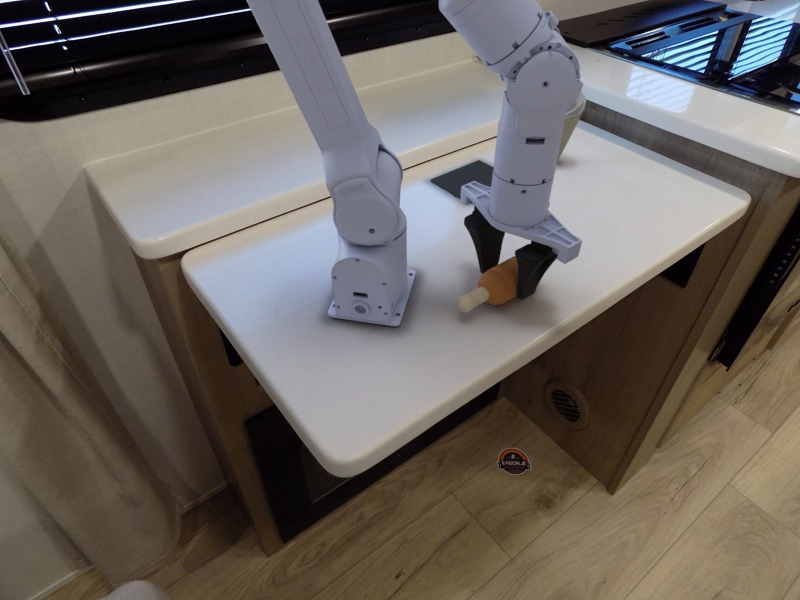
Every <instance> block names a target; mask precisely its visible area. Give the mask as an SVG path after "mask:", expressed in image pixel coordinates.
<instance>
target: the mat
mask: <svg viewBox="0 0 800 600" xmlns="http://www.w3.org/2000/svg"><path fill="white" fill-rule="evenodd" d="M493 167H494V166H493V165H491V164H488V163H486V162H484V161H482V160H480V159H478V160H475V161H473V162H470V163H467V164H465V165H463V166H461V167H458V168H455V169H453V170H450V171H448V172H445V173H443V174H441V175H438V176H434V177H433V178H431V179H430V182H431V183H432V184H434V185H436V186H437V187H439V188H440V189H442V190H443V191H444V190H445V191H446V192H447V193H449V194H451V195H453V196H454V197H456V198H458V199H459V200H460V198H461V186H463V185H466V184H468V183H471V182H473V181H476V182H478V183H480V184H482V185H485V186H488V187H491V184H492V175H493Z"/></svg>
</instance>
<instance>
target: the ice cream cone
mask: <svg viewBox="0 0 800 600" xmlns="http://www.w3.org/2000/svg"><path fill="white" fill-rule="evenodd" d="M580 82H582V81H581V80H580ZM586 104H587V99H586V96H585V94H584V93H583V91H581V92H580V94H579V96H578V98H577V99H576V101H575V102H574V103H573V105H572V106H571V107H570V108H569V109H567V110H566V113H565V118H564V123H563V134H562V139H561V144H560V149H559V154H558V159H557V163H558V162H559V160H560V158H561V156H562V155H563V152H564V150H565V149H566V146H567V145H568V143H569V141H570V139H571V136H572V135H573V133H574V131H575V129H576V127H577V125H578V123H579V121H580V119H581V117H583V115H584V112H585V107H586Z"/></svg>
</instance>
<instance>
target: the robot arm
mask: <svg viewBox="0 0 800 600" xmlns="http://www.w3.org/2000/svg"><path fill="white" fill-rule="evenodd" d="M246 3H247V4H248V7H249V9H250V11H251V13H252V16H253V17H254V19H255V21H256V24H257V25H258V27H259V29H260V31H261V33H262V35H263V37H264V39H265V41H266V43H267V46H268V47H269V49H270V51H271V54H272V55H273V58H274V60H275V61H276V64H277V67H278V68H279V70H280V72H281V75H282V76H283V78H284V80H285V82H286V84H287V86H288V89H289V90H290V92H291V94H292V96H293V98H294V100H295V102H296V104H297V106H298V109H299V110H300V112H301V115H302V117H303V119H304V120H305V122H306V124H307V127H308V129H309V131H310V133H311V134H312V137H313V139H314V141H315V142H316V145H317V147H318V149H319V151H320V154H321V159H322V165H323V166H322V167H323V174H324V181H325V186H326V190H327V192H328V193H329V195H330V198H331V201H332V206H333V207H332V219H333V223H334V226H335V228H336V233H337V244H338V249H337V254H336V257H335V260H334V263H333V265H332V267H331V272H330V280H331V286H332V294H333V295H332V296H333V300H332V302H331V304H330V306H329V307H328V310H327V316H328V317H329V318H334V319H341V320H347V321H353V322H354V321H355V322H362V323H367V324H368V323H369V324H375V325H383V326H389V327H399V326H400V325H401V323H402V320H403V316H404V313H405V311H406V307H407V304H408V301H409V298H410V295H411V293H412V292H411V291H412V288H413V286H414V282H415V279H416V276H417V271H416V270H415V269H411V268H408V237H407V236H408V232H407V231H408V229H407V227H408V226H407V224H408V223H407V216H406V214H405V212H404V211H403V210H402V208H401V193H402V191H401V190H402V182H403V179H404V170H403V166H402V163H401V161H400V159H399V158H398V156H397V155H396V154H395V153H394V152H392V150H390V149H389V148H388V147H387V146H386V145H385V143H384V142H383V140H382V138H381V135H380V133H379V131H378V129H376V128H375V126H373V125H372V124H371V122H369V121H368V117H367V116H366V113H365V111H364V108H363V105H362V104H361V101H360V99H359V97H358V94H357V91H356V88H355V87H354V84H353V82H352V80H351V77H350V75H349V72H348V70H347V68H346V65H345V63H344V60H343V58H342V56H341V53H340V51H339V48H338V45H337V43H336V41H335V38H334V36H333V34H332V31H331V29H330V26H329V24H328V22H327V19H326V17H325V15H324V14H325V13H324V11H323V9H322V6H321V5H320V2H319V0H246ZM438 10H439V12H440V13H441V14H442V15H443V16H444V18H446V20H447V21H448V22H449V23H450V25H451V26H452V27H453V28H454V29H455V31H456V32H457V33H458V34H459V35H460V36H461V38H462V39H463V40H464V41H465V42H466V44H467V46H469V47H470V48H471V50H472V51H473V52H474V53H475V55H476V56H477V58H479V59H480V60H481V62H482V63H483V64H484V65H485V66H486V68H487V69H488V70H490V71H492V72H493V73H496V74H499V77H500V80H501V81H502V82H504V85H505V87H506V90H504V91H503V94H502V95H503V97H502V104H501V114H500V118H499V120H498V123H497V132H496V141H495V149H494V150H495V151H494V158H493V166H492V167H493V175H492V184H491V187H488V186H485V185H482V184H480V183H478V182H476V181H473V182H471V183H468V184H466V185H463V186H461V198H460V199H459V201H460V203H462V204H464V205H465V206H468V205H470V204H471V205H473V210H472V212H471V213H470V214H468V215H467V216H465V217H464V219H463V225H464V228H466V230H467V232H468V234H469V236H470V238H471V240H472V243H473V246H474V249H475V252H476V253H475V254H476V257H477V263H478V266H479V267H478V268H479V271H480V273H481V274H483V273H484V272H486V271H487V270H489V269H491V268H493V267H495V266H497V265H498V264H500V259H501V254H502V248H503V242H504V238H505V235H506V234H509V235H513V236H516V237H519V238H522V239H525V240H529V241H530V243H527V244H525V245H524V246H522V247H519V248H518V249H516V250H515V251H514V256H516V259H517V264H518V283H517V290H516V294H517V296H516V298H517V299H518V300H520V301H524V300H526V299H527V298H528V297H530V296H532V295H533V294H535V292H536V289H537V287H538V285H540V282H541V280H542V278H543V277H544V275H545V274H546V272H547V271H548V270H549V269H550V267H551V266H552V265H553V263H554V262H555V261H556V260H558V261H559V262H561V263H562V264H564V265H566V264H568V263H570V262H572V261H573V260H575V259H577V258H578V257H579V255H580V251H581V247H582V244H583V239H581V238H579V237H578V236H576V235H575V234H574V233H572V232H571V231H570V230H569V229H568V228H567V227H566V226H565V225H564V224H563V223H562V222H561V221H560V220H559V219H558V218H556V217H557V216H555V215H554V214H553V213H552V212H551V211H550V210H549V209H550V205H551V203H550V198H551V195H552V188H553V185H554V184H553V183H554V178H555V175H556V169H557V164H558V162H557V159H558V154H559V149H560V144H561V139H562V134H563V123H564V118H565V113H566V110H567V109H569V108H570V107H571V106H572V105H573V103H574V102H575V101H576V99H577V98H578V96H579V94H580V92H582V89H583V86H584V83H583V81H581V73H580V70H581V66H580V63H579V60H578V57H577V56H576V54H575V53H574V51H573V50H572V48H571V47H570V46H569V44H568V43H567V42H566V40H565V39H564V37H563V36H562V35H561V31H560V29H559V28H558V27H557V26H558V25H559V20H558V18H557V17H556V16H555V14H554V13H553V12H552V10H547V11H546V12H545V11H544V10H543V9H542V7H541V6H540V5H539V3H538V2H537V0H438ZM580 81H581V82H580Z"/></svg>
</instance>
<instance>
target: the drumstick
mask: <svg viewBox="0 0 800 600" xmlns="http://www.w3.org/2000/svg"><path fill="white" fill-rule="evenodd" d="M517 283H518V264H517V259H516V256H515V255H514V256H512V257H510V258H508V259H506V260H504V261H502V262H499V263H498V265H497V266H495V267H493V268H491V269H489V270H487V271H486V272H484V273H481V276H480V277H479V279H478V281H477V288H476V289H474V290H471V292H468V293H467V294H464V295H461V296H459V298H457V301H456V305H457V309H458V310H459V311H460V312H462V313H469V312H471V311H473V309H474V308H476V307H478V306H479V305H481V304H484V303H487V304H489V305H494V306H499V305H503V304H505V303H507V302H509V301H511V300H512V299H514V298H517V294H516V290H517Z"/></svg>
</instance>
